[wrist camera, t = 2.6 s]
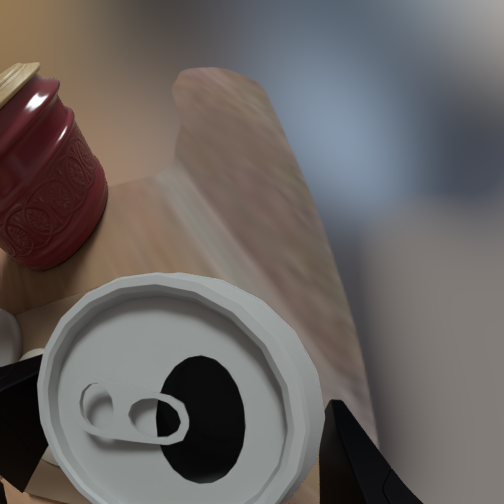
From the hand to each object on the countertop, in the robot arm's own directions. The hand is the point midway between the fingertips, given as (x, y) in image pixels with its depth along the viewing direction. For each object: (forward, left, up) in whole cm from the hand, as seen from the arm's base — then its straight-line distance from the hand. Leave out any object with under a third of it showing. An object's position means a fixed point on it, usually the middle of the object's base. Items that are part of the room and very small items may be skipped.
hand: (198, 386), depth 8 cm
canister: (+18, +12, -8) cm, 23 cm away
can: (-1, 0, -8) cm, 8 cm away
